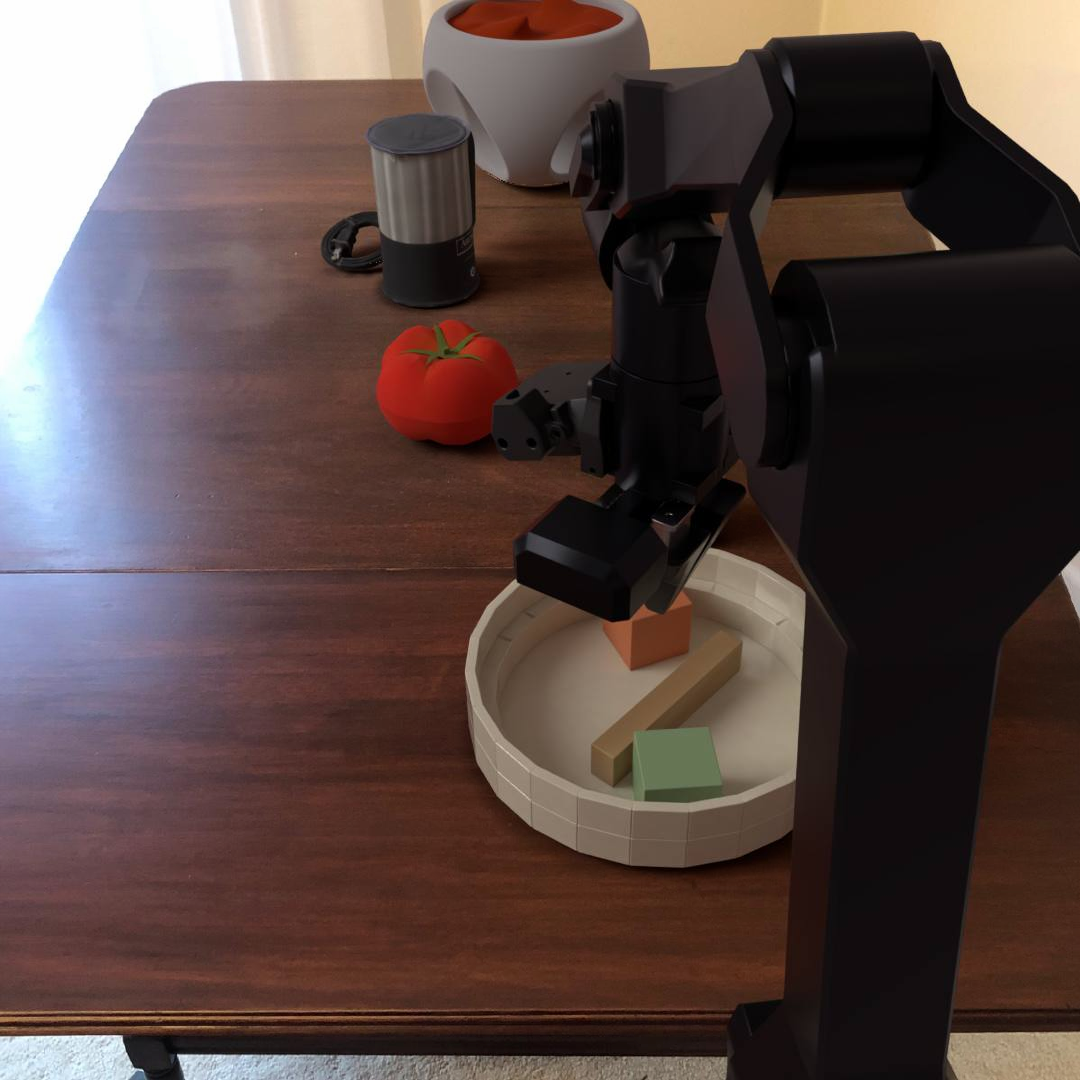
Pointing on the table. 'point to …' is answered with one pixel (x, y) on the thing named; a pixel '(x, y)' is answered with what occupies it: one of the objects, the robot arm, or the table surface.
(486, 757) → the bowl
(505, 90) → the pot
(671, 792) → the sage block
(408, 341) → the tomato
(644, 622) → the terracotta block
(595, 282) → the table surface
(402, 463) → the table surface
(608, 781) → the long tan beam
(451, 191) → the milk frother
